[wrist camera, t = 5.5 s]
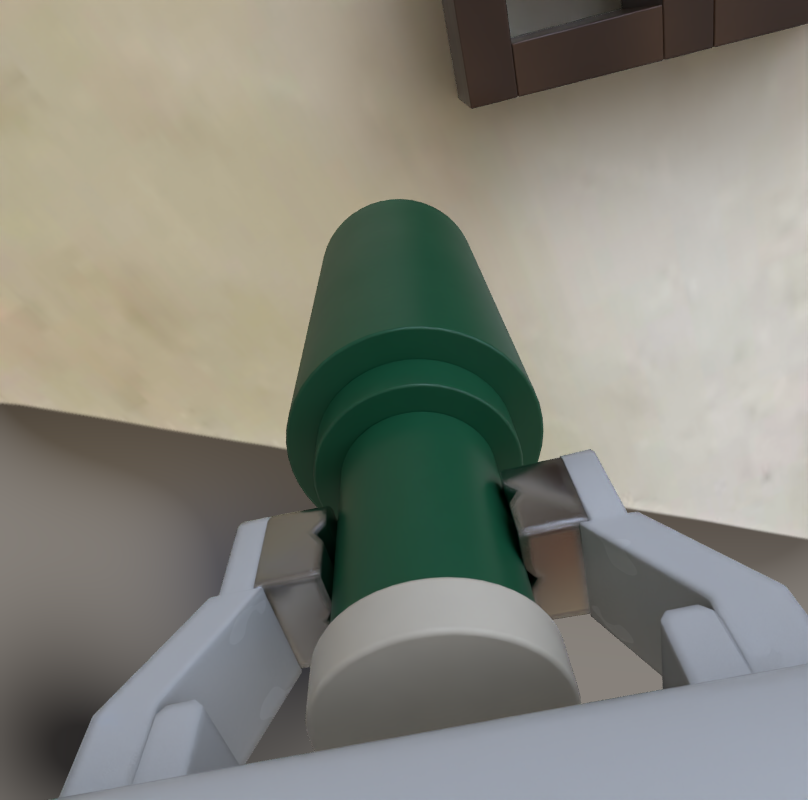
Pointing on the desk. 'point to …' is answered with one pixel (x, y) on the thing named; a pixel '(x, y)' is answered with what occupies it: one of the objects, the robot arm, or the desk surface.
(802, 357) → the desk surface
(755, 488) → the desk surface
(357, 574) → the bottle
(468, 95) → the hole block
